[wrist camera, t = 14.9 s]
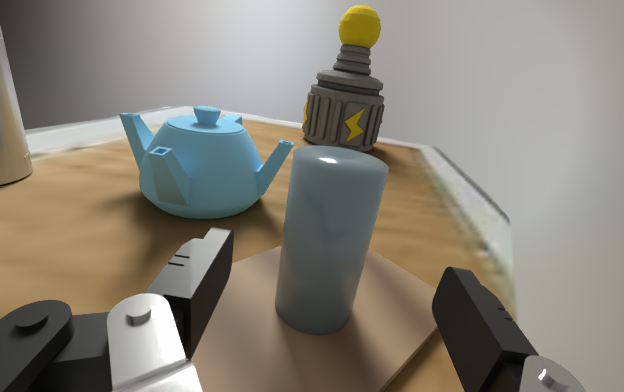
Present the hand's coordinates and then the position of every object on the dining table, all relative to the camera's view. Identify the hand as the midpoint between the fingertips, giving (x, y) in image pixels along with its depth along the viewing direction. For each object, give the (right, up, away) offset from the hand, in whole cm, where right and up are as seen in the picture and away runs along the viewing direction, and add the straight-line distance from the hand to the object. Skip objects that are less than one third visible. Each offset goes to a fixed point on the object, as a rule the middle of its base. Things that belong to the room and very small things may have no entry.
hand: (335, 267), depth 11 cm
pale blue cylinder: (-1, -5, +11) cm, 12 cm away
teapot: (-14, +2, +25) cm, 29 cm away
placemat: (-1, -6, +11) cm, 12 cm away
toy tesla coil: (+6, +16, +65) cm, 67 cm away
